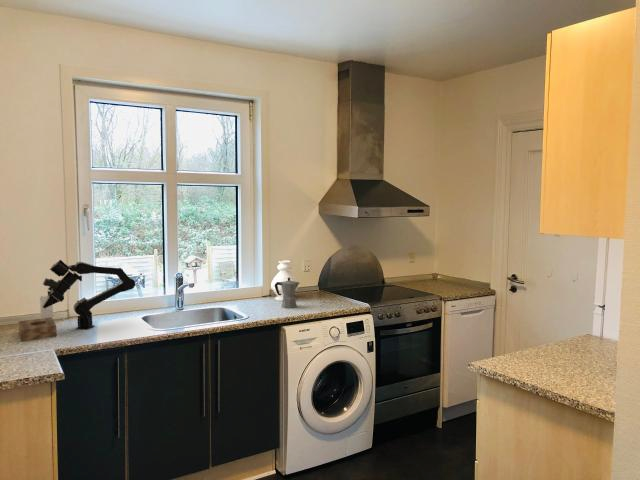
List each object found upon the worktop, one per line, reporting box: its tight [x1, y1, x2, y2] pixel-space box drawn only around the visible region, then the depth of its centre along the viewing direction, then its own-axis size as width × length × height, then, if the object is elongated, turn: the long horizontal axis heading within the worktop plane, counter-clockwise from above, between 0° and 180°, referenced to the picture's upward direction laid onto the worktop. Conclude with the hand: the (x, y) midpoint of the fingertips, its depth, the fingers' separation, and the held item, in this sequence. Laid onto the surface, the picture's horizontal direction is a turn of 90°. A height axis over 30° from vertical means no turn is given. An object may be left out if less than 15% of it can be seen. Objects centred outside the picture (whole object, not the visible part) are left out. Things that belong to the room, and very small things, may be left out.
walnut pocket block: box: [17, 317, 57, 342], centre depth 247 cm, size 15×20×6 cm
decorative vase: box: [270, 259, 299, 301], centre depth 330 cm, size 18×18×25 cm
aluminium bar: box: [39, 294, 54, 319], centre depth 249 cm, size 5×5×10 cm
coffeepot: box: [275, 278, 300, 309], centre depth 305 cm, size 15×9×18 cm, turn 103°
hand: (43, 306), depth 248 cm, fingers closed on aluminium bar, 5 cm apart
